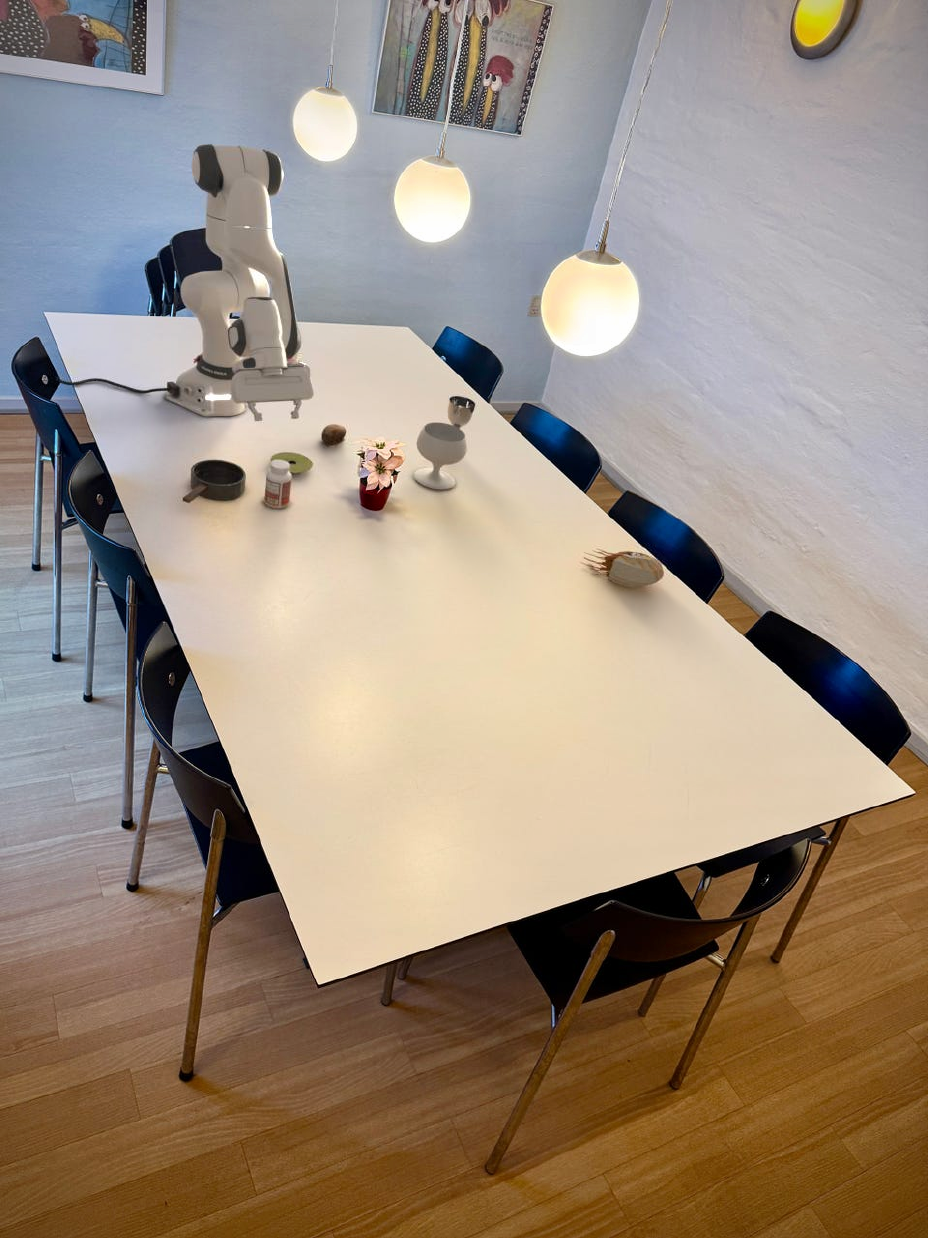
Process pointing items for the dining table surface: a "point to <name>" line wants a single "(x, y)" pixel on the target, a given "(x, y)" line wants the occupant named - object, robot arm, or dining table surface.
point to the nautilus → (630, 568)
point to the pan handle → (195, 493)
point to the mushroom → (333, 434)
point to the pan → (219, 479)
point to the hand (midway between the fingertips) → (277, 419)
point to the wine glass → (460, 410)
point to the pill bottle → (278, 484)
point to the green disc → (294, 461)
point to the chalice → (439, 453)
